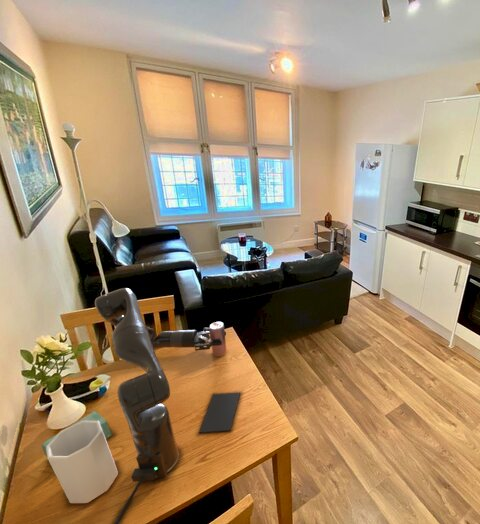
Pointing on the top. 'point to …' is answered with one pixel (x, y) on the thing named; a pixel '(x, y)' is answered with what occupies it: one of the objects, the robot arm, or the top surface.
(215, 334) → the beverage can
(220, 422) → the mat
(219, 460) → the top surface
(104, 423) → the box
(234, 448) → the top surface
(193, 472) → the top surface
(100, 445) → the cup
